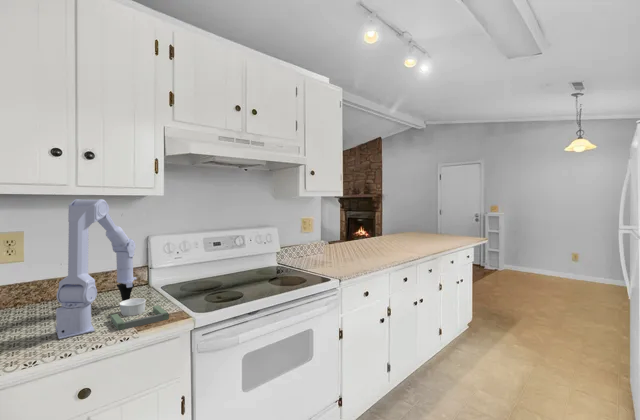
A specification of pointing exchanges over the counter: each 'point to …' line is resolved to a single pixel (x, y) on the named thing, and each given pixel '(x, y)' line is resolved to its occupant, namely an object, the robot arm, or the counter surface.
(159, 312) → the chute bay
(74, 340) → the counter surface
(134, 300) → the ramekin
